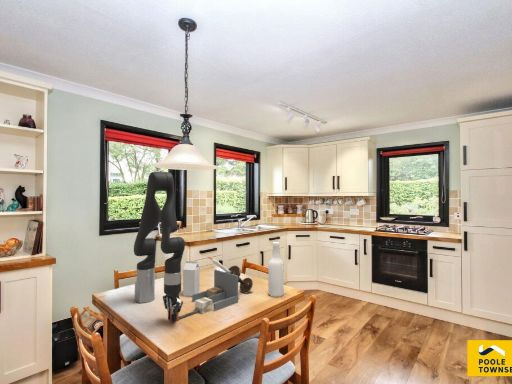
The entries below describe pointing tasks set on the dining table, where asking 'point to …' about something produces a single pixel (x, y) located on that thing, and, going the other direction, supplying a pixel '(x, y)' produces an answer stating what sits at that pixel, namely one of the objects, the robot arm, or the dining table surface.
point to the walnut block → (213, 291)
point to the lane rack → (228, 290)
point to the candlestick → (245, 283)
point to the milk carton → (191, 278)
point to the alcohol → (276, 273)
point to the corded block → (197, 308)
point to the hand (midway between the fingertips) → (172, 320)
